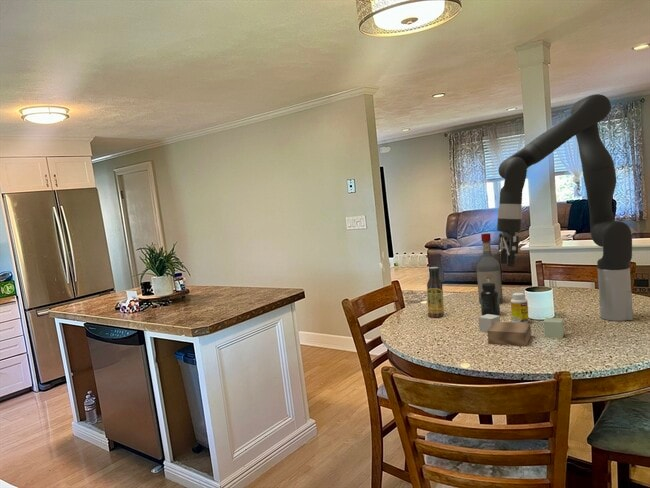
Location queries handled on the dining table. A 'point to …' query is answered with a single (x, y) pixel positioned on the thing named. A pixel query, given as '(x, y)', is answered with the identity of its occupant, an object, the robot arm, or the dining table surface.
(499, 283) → the liquor
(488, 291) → the supplement bottle
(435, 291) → the sauce bottle
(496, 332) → the walnut block
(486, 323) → the grey cube
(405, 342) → the dining table surface
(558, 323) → the sage cube
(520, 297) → the supplement bottle
